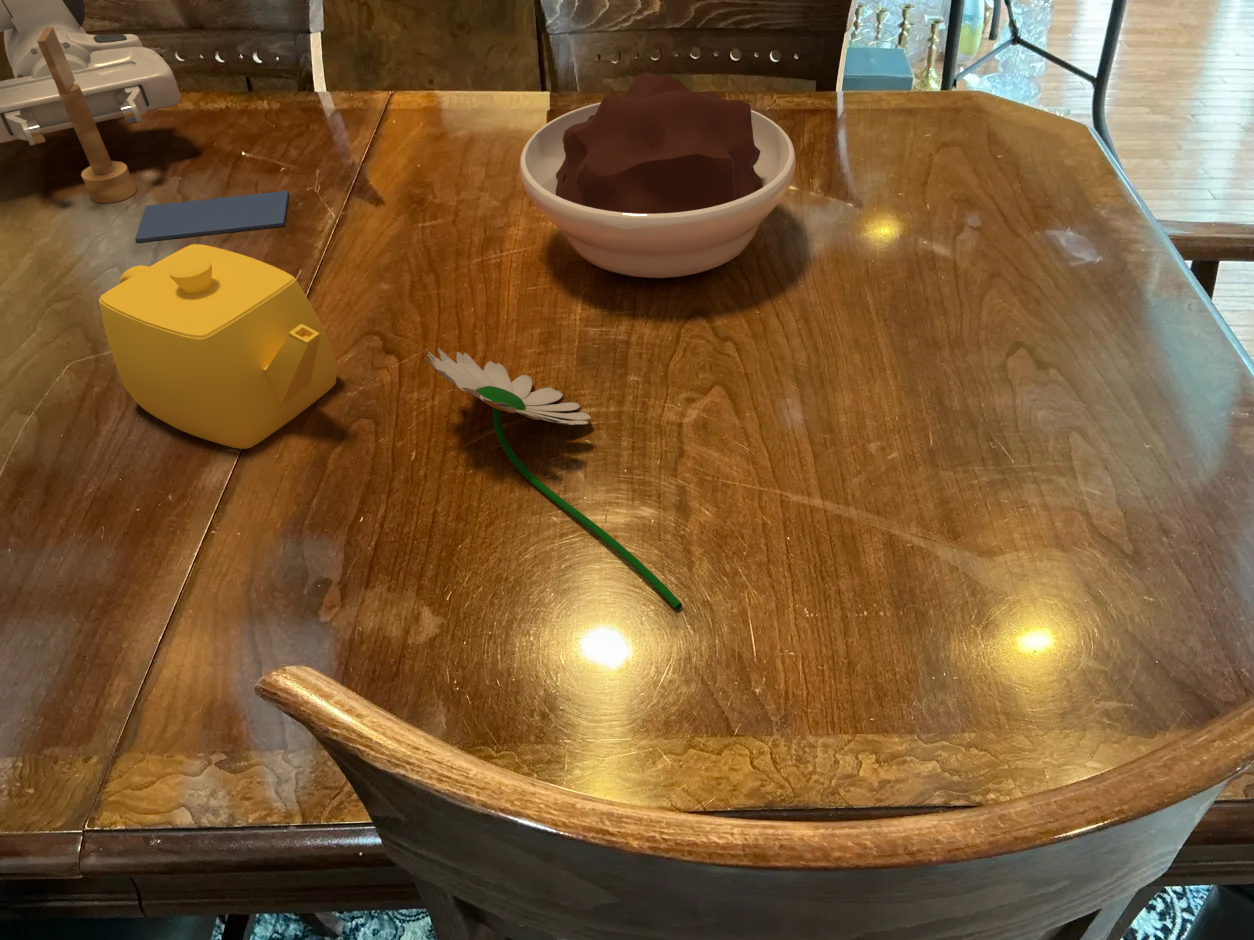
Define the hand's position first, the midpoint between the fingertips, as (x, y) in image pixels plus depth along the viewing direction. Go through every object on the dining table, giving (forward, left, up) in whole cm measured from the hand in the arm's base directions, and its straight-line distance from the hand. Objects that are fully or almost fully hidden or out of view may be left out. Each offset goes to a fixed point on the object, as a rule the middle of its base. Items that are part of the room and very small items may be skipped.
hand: (84, 126), depth 107 cm
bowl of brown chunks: (+54, -23, -8) cm, 59 cm away
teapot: (+17, -39, -8) cm, 43 cm away
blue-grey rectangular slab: (+11, -7, -8) cm, 15 cm away
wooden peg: (0, +1, -8) cm, 8 cm away
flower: (+40, -56, -8) cm, 69 cm away
